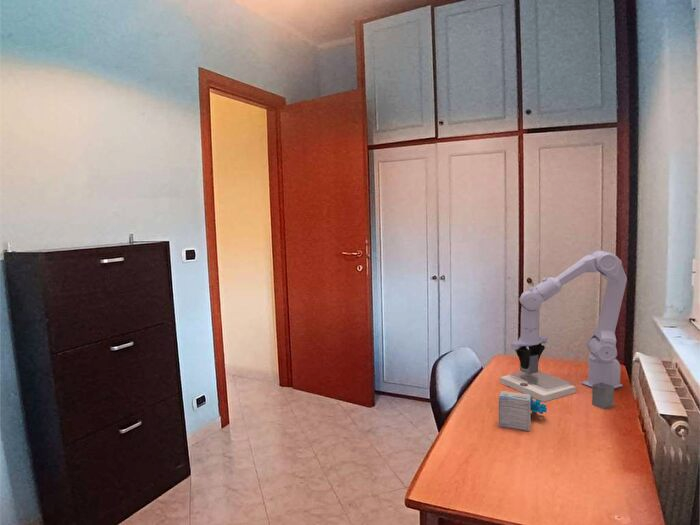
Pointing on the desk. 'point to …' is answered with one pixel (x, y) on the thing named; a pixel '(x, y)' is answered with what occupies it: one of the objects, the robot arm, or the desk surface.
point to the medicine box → (514, 410)
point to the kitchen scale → (538, 385)
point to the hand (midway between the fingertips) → (529, 366)
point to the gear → (537, 406)
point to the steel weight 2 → (603, 395)
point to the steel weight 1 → (531, 364)
